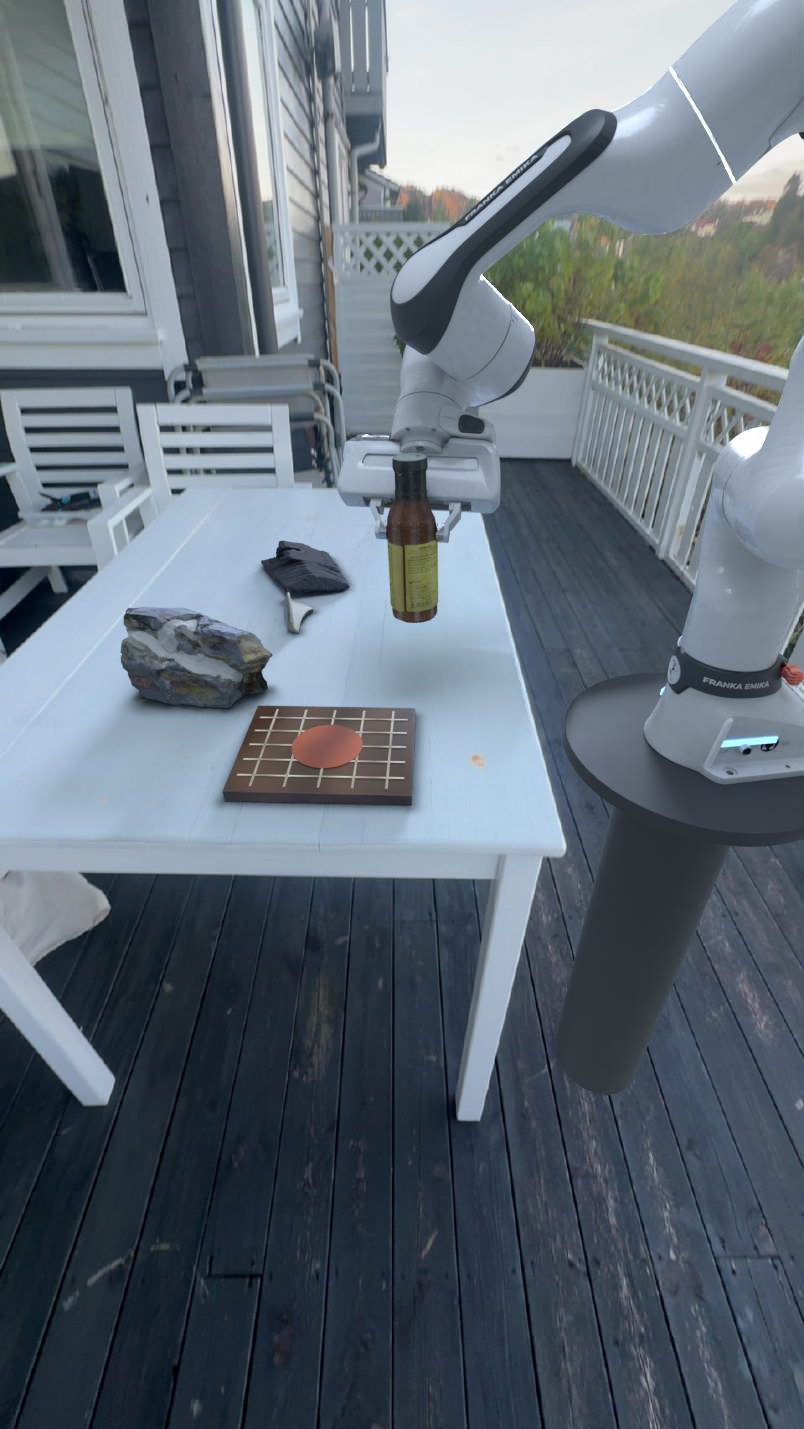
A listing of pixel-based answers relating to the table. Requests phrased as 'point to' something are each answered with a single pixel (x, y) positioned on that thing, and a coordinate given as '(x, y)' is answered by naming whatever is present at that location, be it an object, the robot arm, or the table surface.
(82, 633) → the table surface
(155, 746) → the table surface
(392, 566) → the sauce bottle
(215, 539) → the table surface
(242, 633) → the fossil rock
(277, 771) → the grid board
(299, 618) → the ceramic fragment
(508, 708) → the table surface
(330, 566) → the dark slate chunk
